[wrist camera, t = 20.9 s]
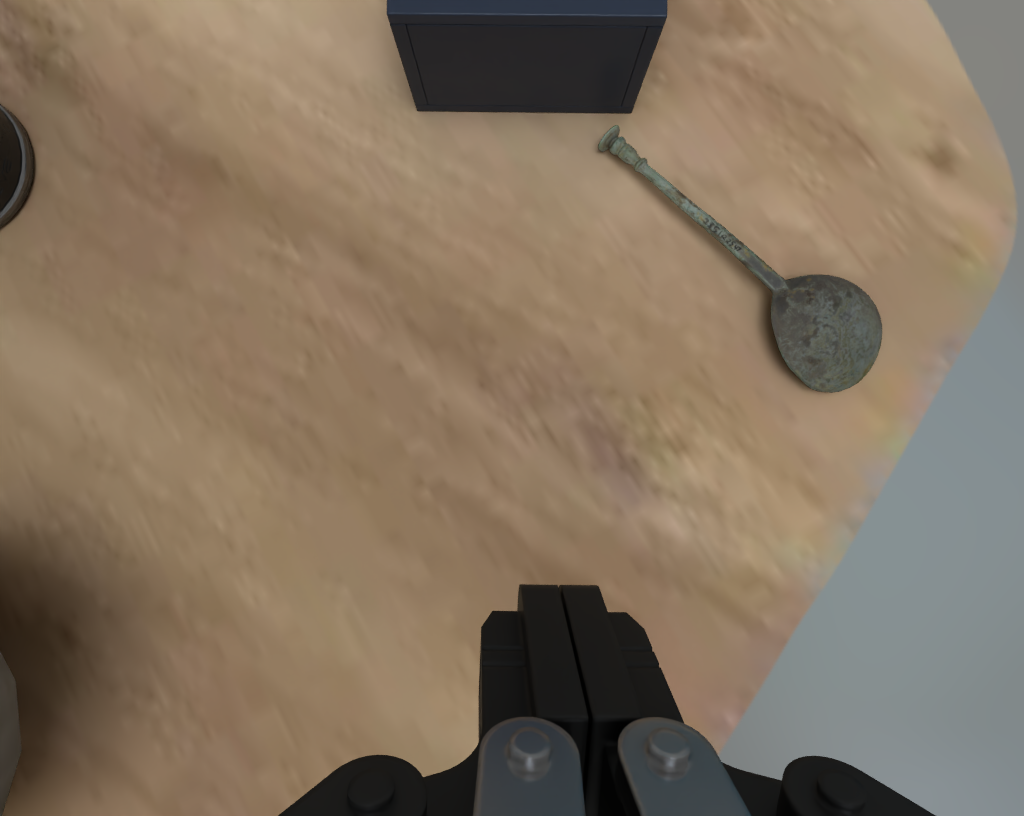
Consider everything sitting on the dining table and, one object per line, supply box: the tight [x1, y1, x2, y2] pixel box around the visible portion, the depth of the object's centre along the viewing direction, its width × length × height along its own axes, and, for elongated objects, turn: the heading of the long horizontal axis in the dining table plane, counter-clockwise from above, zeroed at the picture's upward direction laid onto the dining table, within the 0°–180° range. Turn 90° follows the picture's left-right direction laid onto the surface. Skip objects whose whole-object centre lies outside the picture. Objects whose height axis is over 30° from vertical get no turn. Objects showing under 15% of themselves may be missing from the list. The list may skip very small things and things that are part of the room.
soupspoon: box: [598, 125, 882, 393], centre depth 39 cm, size 22×3×7 cm
